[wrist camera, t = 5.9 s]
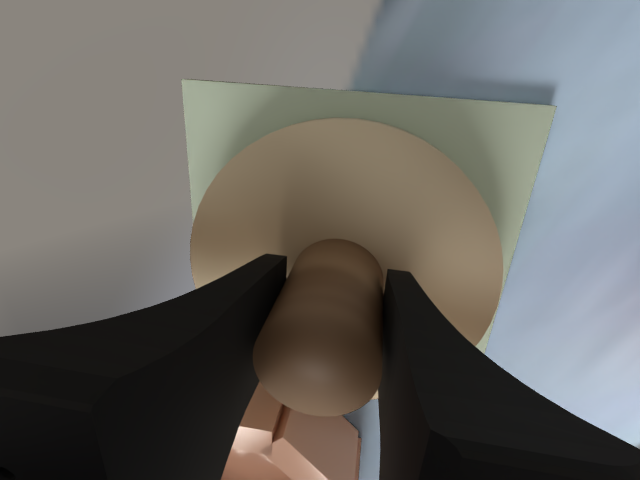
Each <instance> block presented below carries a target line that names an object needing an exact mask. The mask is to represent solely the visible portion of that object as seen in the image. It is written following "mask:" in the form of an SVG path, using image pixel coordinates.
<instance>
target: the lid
mask: <svg viewBox="0 0 640 480" xmlns="http://www.w3.org/2000/svg"><path fill="white" fill-rule="evenodd" d="M190 243H191V244H190V261H191V269H192V276H193V279H194V284H195V288H196V289H197V288H200V287H202V286H204V285H206V284H208V283H210V282H212V281H214V280H216V279H218V278H221V277H222V276H224V275H226V274H228V273H230V272H232V271H234V270H235V269H237V268H239V267H241V266H243V265H245V264H246V263H248V262H250V261H252V260H254V259H256V258H258V257H260V256H262V255H264V254H266V253H267V254H275V255H283V256H287V275H286V281H285V283H284V285H283V287H282V289H281V291H280V293H279V295H278V297H277V299H276V301H275V303H274V305H273V307H272V309H271V311H270V313H269V315H268V317H267V319H266V321H265V323H264V325H263V327H262V329H261V331H260V333H259V335H258V337H257V340H256V342H255V345H254V348H253V365H254V369H255V372H256V375H257V377H258V379H259V381H260V382H261V384H262V385H263V387H264V388H265V389H266V390H267V391H268V393H269V394H270V395H272V396H273V397H274V398H275V399H276V400H278V401H279V402H280V403H282V404H284V405H285V406H287V407H289V408H291V409H293V410H295V411H298V412H301V413H304V414H309V415H314V416H325V417H328V416H339V415H344V414H347V413H350V412H353V411H355V410H357V409H359V408H361V407H362V406H364V405H365V404H366V403H368V402H369V401H370V400H372V399H378V388H379V386H380V382H381V378H382V351H383V296H384V289H385V282H386V276H387V269H393V270H401V271H409V272H411V274H412V275H413V276H414V278H415V279H416V281H417V282H418V283H419V285H420V286H421V287H422V289H423V290H424V292H425V293H426V294H427V296H428V297H429V298H430V300H431V301H432V302H433V303H434V305H435V306H436V307H437V308H438V309H439V311H440V312H441V313H442V314H443V315H444V316H445V317H446V319H447V320H448V321H449V322H450V323H451V324H452V325H453V326H454V327H455V328H456V329H457V330H458V331H459V332H460V333H461V334H462V335H463V336H464V337H465V338H466V339H467V340H468V341H470V342H471V343H472V344H473V345H474V346H476V345H477V344H478V343H479V342H480V340H481V339H482V337H483V336H484V334H485V332H486V331H487V329H488V327H489V325H490V324H491V321H492V319H493V316H494V314H495V312H496V309H497V307H498V303H499V299H500V294H501V290H502V282H503V269H504V268H503V255H502V247H501V242H500V238H499V234H498V230H497V227H496V224H495V222H494V220H493V217H492V215H491V212H490V210H489V208H488V206H487V205H486V203H485V201H484V200H483V198H482V196H481V195H480V193H479V191H478V190H477V188H476V187H475V186H474V185H473V183H472V182H471V181H470V180H469V179H468V177H467V176H466V175H465V174H464V173H463V171H462V170H461V169H460V168H459V167H458V166H457V165H456V164H455V163H454V162H453V161H452V160H451V159H449V158H448V157H447V156H446V155H445V154H444V153H443V152H442V151H440V150H439V149H437V148H436V147H434V146H433V145H431V144H430V143H428V142H427V141H425V140H424V139H422V138H420V137H417V136H415V135H413V134H411V133H409V132H407V131H405V130H403V129H400V128H397V127H394V126H391V125H388V124H385V123H381V122H377V121H371V120H365V119H360V118H340V117H333V118H323V119H313V120H309V121H305V122H300V123H296V124H292V125H289V126H287V127H284V128H282V129H279V130H277V131H274V132H272V133H270V134H268V135H266V136H264V137H262V138H261V139H259V140H257V141H255V142H254V143H252V144H250V145H249V146H247V147H246V148H244V149H243V150H242V151H241V152H239V153H238V154H237V155H236V156H234V157H233V158H232V159H231V160H230V161H229V162H228V163H227V164H226V165H225V166H224V167H223V168H222V169H221V170H220V172H219V173H218V174H217V175H216V177H215V178H214V179H213V181H212V182H211V184H210V185H209V187H208V188H207V190H206V192H205V194H204V196H203V198H202V200H201V202H200V204H199V206H198V210H197V213H196V216H195V219H194V223H193V228H192V234H191V241H190Z"/></svg>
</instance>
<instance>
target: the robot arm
mask: <svg viewBox="0 0 640 480" xmlns="http://www.w3.org/2000/svg"><path fill="white" fill-rule="evenodd" d="M286 275H287V256H283V255H275V254H267V253H266V254H264V255H262V256H260V257H258V258H256V259H254V260H252V261H250V262H248V263H246V264H245V265H243V266H241V267H239V268H237V269H235V270H234V271H232V272H230V273H228V274H226V275H224V276H222V277H221V278H218V279H216V280H214V281H212V282H210V283H208V284H206V285H204V286H202V287H200V288H197V289H195V290H193V291H191V292H189V293H186V294H184V295H182V296H179V297H177V298H174V299H171V300H168V301H165V302H163V303H160V304H157V305H154V306H151V307H148V308H144V309H141V310H137V311H134V312H130V313H127V314H123V315H120V316H116V317H112V318H109V319H104V320H100V321H95V322H91V323H86V324H81V325H76V326H71V327H65V328H60V329H54V330H48V331H40V332H33V333H26V334H18V335H12V336H4V337H0V480H221V477H222V474H223V471H224V468H225V465H226V462H227V460H228V457H229V454H230V451H231V448H232V445H233V442H234V440H235V437H236V434H237V431H238V428H239V425H240V423H241V421H242V418H243V416H244V413H245V411H246V409H247V407H248V404H249V402H250V400H251V398H252V396H253V394H254V392H255V390H256V388H257V385H258V383H259V379H258V377H257V375H256V372H255V369H254V365H253V348H254V345H255V342H256V340H257V337H258V335H259V333H260V331H261V329H262V327H263V325H264V323H265V321H266V319H267V317H268V315H269V313H270V311H271V309H272V307H273V305H274V303H275V301H276V299H277V297H278V295H279V293H280V291H281V289H282V287H283V285H284V283H285V281H286ZM378 401H379V419H380V474H379V480H640V449H638V448H636V447H634V446H633V445H631V444H629V443H627V442H625V441H623V440H621V439H619V438H617V437H615V436H613V435H611V434H609V433H608V432H606V431H604V430H602V429H600V428H598V427H596V426H594V425H592V424H590V423H588V422H586V421H585V420H583V419H581V418H579V417H577V416H575V415H573V414H572V413H570V412H568V411H567V410H565V409H563V408H562V407H560V406H558V405H557V404H555V403H553V402H552V401H550V400H548V399H547V398H545V397H543V396H542V395H540V394H539V393H537V392H536V391H534V390H533V389H531V388H529V387H528V386H526V385H525V384H523V383H522V382H520V381H519V380H518V379H516V378H515V377H514V376H512V375H511V374H509V373H508V372H507V371H505V370H504V369H502V368H501V367H500V366H498V365H497V364H496V363H495V362H493V361H492V360H491V359H489V358H488V357H487V356H486V355H485V354H483V353H482V352H481V351H480V350H479V349H478V348H476V347H475V346H474V345H473V344H472V343H471V342H470V341H468V340H467V339H466V338H465V337H464V336H463V335H462V334H461V333H460V332H459V331H458V330H457V329H456V328H455V327H454V326H453V325H452V324H451V323H450V322H449V321H448V320H447V319H446V317H445V316H444V315H443V314H442V313H441V312H440V311H439V309H438V308H437V307H436V306H435V305H434V303H433V302H432V301H431V300H430V298H429V297H428V296H427V294H426V293H425V292H424V290H423V289H422V287H421V286H420V285H419V283H418V282H417V281H416V279H415V278H414V276H413V275H412V274H411V272H409V271H401V270H393V269H387V276H386V282H385V289H384V296H383V351H382V378H381V382H380V386H379V388H378Z"/></svg>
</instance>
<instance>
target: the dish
mask: <svg viewBox="0 0 640 480" xmlns="http://www.w3.org/2000/svg"><path fill="white" fill-rule="evenodd" d="M358 433H359V431H358V430H357V429H356V428H355V427H354V426H353V425H352V424H351V423H350V422H348V421H347V420H346V419H345V418H344V417H343V416H342V415H339V416H328V417H325V416H314V415H309V414H304V413H301V412H298V411H295V410H293V409H291V408H289V407H287V406H285V405H284V404H282V403H280V402H279V401H278V400H276V399H275V398H274V397H273V396H272V395H270V394H269V393H268V391H267V390H266V389H265V388H264V387H263V385H262V384H261V382H260V381H259V383H258V385H257V388H256V390H255V392H254V394H253V396H252V398H251V400H250V402H249V404H248V407H247V409H246V411H245V413H244V416H243V418H242V421H241V423H240V425H239V428H238V431H237V434H236V437H235V440H234V442H233V445H232V448H231V451H230V454H229V457H228V460H227V462H226V465H225V468H224V471H223V474H222V477H221V480H358V477H359V463H360V450H361V438H358Z"/></svg>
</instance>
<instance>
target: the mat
mask: <svg viewBox="0 0 640 480" xmlns="http://www.w3.org/2000/svg"><path fill="white" fill-rule="evenodd" d="M181 81H182V93H183V106H184V118H185V129H186V130H185V131H186V143H187V155H188V168H189V180H190V192H191V205H192V218H193V223H194V219H195V216H196V213H197V210H198V206H199V204H200V202H201V200H202V198H203V196H204V194H205V192H206V190H207V188H208V187H209V185H210V184H211V182H212V181H213V179H214V178H215V177H216V175H217V174H218V173H219V172H220V170H221V169H222V168H223V167H224V166H225V165H226V164H227V163H228V162H229V161H230V160H231V159H232V158H233V157H234V156H236V155H237V154H238V153H239V152H241V151H242V150H243V149H244V148H246V147H247V146H249V145H250V144H252V143H254V142H255V141H257V140H259V139H261V138H262V137H264V136H266V135H268V134H270V133H272V132H274V131H277V130H279V129H282V128H284V127H287V126H289V125H292V124H296V123H300V122H305V121H309V120H313V119H323V118H333V117H340V118H360V119H365V120H371V121H377V122H381V123H385V124H388V125H391V126H394V127H397V128H400V129H403V130H405V131H407V132H409V133H411V134H413V135H415V136H417V137H420V138H422V139H424V140H425V141H427V142H428V143H430V144H431V145H433V146H434V147H436V148H437V149H439V150H440V151H442V152H443V153H444V154H445V155H446V156H447V157H448V158H449V159H451V160H452V161H453V162H454V163H455V164H456V165H457V166H458V167H459V168H460V169H461V170H462V171H463V173H464V174H465V175H466V176H467V177H468V179H469V180H470V181H471V182H472V183H473V185H474V186H475V187H476V188H477V190H478V191H479V193H480V195H481V196H482V198H483V200H484V201H485V203H486V205H487V206H488V208H489V210H490V212H491V215H492V217H493V220H494V222H495V224H496V227H497V230H498V234H499V238H500V242H501V247H502V255H503V268H504V269H503V282H502V290H501V294H500V298H501V295H502V291H503V288H504V285H505V281H506V278H507V274H508V271H509V268H510V264H511V261H512V257H513V254H514V251H515V247H516V244H517V240H518V237H519V233H520V230H521V227H522V223H523V220H524V216H525V213H526V210H527V206H528V203H529V199H530V196H531V192H532V189H533V186H534V182H535V179H536V175H537V172H538V169H539V165H540V162H541V158H542V155H543V151H544V148H545V145H546V141H547V138H548V134H549V131H550V128H551V124H552V121H553V117H554V114H555V110H556V107H557V106H553V105H542V104H528V103H514V102H500V101H486V100H472V99H458V98H445V97H431V96H417V95H403V94H389V93H375V92H361V91H347V90H333V89H318V88H305V87H291V86H277V85H263V84H248V83H235V82H221V81H208V80H193V79H182V80H181ZM499 302H500V299H499ZM498 305H499V303H498ZM497 309H498V307H497ZM497 309H496V312H497ZM496 312H495V314H494V316H493V319H492V321H491V324H490V325H489V327H488V329H487V331H486V332H485V334H484V336H483V337H482V339H481V340H480V342H479V343H478V344H477V345H476V346H475V347H476V348H478V349H479V350H480V351H481V352H482V353H483V354H484V353H485V350H486V346H487V343H488V339H489V336H490V332H491V329H492V326H493V322H494V319H495V315H496Z"/></svg>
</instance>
